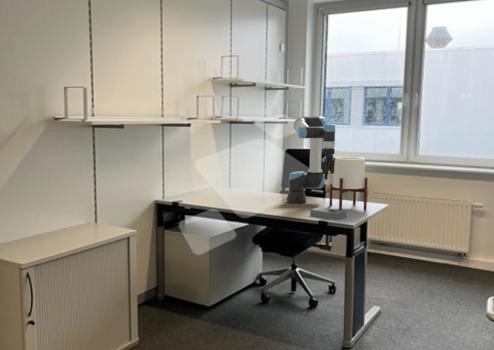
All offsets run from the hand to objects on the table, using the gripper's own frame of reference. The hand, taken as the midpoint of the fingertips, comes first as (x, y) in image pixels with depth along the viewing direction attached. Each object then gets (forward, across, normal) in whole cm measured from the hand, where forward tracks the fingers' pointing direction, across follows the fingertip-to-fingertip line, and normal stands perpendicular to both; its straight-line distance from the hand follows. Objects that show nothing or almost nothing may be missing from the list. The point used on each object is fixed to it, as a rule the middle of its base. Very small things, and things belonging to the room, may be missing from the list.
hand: (328, 184), depth 316 cm
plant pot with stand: (+21, +36, +5) cm, 42 cm away
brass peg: (+5, 0, 0) cm, 5 cm away
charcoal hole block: (+21, +1, 0) cm, 21 cm away
